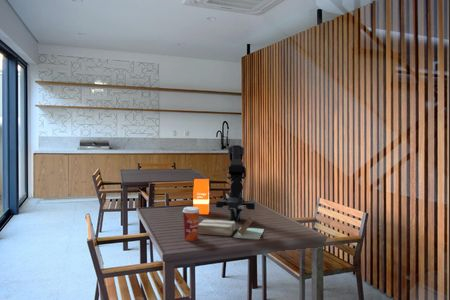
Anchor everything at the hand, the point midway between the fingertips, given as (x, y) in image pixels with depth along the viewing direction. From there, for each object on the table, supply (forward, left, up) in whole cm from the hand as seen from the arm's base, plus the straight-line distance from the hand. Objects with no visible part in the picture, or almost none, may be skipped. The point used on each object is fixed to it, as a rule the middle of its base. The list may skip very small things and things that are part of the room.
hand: (235, 222), depth 175 cm
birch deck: (0, -9, -5) cm, 11 cm away
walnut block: (0, +4, 0) cm, 4 cm away
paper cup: (+15, -17, -5) cm, 24 cm away
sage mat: (0, +7, -5) cm, 8 cm away
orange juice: (-36, -28, -5) cm, 46 cm away
